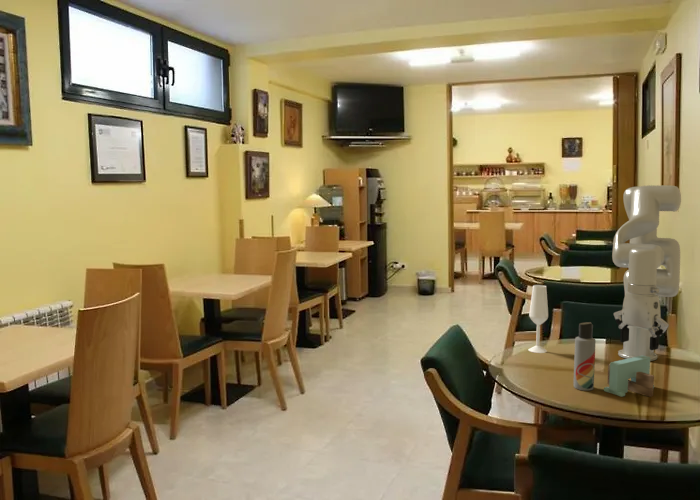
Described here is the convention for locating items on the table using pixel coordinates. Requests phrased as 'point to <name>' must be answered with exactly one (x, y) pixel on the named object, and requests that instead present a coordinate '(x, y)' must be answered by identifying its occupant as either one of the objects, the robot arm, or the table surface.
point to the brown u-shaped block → (640, 383)
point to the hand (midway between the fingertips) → (638, 345)
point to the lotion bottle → (584, 358)
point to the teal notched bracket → (626, 373)
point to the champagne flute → (538, 313)
